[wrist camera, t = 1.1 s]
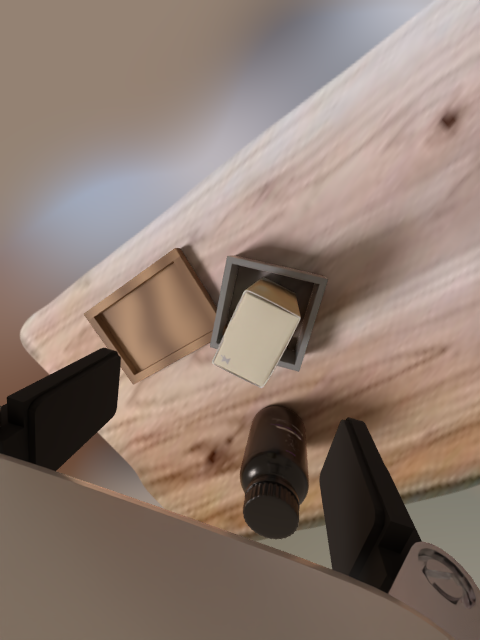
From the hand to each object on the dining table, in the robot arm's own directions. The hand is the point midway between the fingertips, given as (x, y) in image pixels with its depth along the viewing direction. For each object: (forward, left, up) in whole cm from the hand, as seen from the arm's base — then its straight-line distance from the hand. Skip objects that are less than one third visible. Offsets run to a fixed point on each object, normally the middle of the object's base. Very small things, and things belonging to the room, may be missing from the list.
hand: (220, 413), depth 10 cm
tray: (+13, +5, -20) cm, 24 cm away
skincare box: (0, 0, -20) cm, 20 cm away
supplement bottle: (-5, +15, -20) cm, 25 cm away
